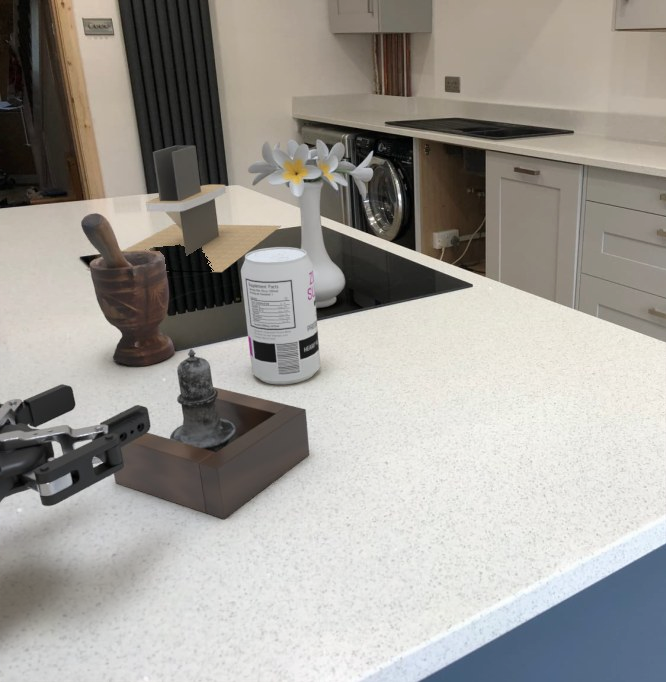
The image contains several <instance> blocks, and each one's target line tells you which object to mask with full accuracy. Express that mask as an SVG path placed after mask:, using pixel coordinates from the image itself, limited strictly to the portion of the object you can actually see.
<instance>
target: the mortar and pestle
mask: <svg viewBox="0 0 666 682" xmlns="http://www.w3.org/2000/svg"><path fill="white" fill-rule="evenodd" d="M80 225H81V230H82V231H83V233H84V234H85V237H86V238H87V240H88V241H89V243H90V244H91V245H92V246H93V248H94V249H95V250H96V251H97V252H98V253H99V254H100V256H99V257H98V258H94V259H93V260H91V261H90V262H89V268H90V270H89V271H90V277H91V280H92V284H93V288H94V294H95V298H96V301H97V303H98V306H99V308H100V311H101V312H102V314H103V315H104V319H105V320H106V321H107V322H108V323H109V324H110V325H111V326H113V327H115V328H116V329H117V330H118V331H119V332H120V333H121V337H120V338H119V341H118V343H117V344H116V347H115V350H114V353H113V355H112V359H113V361H115V362H117V363H119V364H122V365H127V366H130V367H138V366H142V367H143V366H149V365H153V364H156V363H159V362H162V361H164V360H167V359H168V358H170V357H172V356H173V355H174V353H175V346H174V343H173V341H172V339H171V338H170V337H169V336H168V335H166V334H163V333H162V332H160V328H159V326H160V324H161V323H162V322H163V320H164V319H165V318H166V316H167V313H168V309H169V302H170V290H169V288H170V287H169V280H168V277H167V276H168V274H167V272H168V271H166V264H165V257H164V255H163V254H162V253H161V252H160V251H150V250H141V251H138V250H136V251H129V252H126V251H123V250H121V247H120V246H119V242H118V240H117V238H116V234H115V232H114V231H115V230H114V229H113V227H112V225H111V223H110V221H109V220H108V219H107V218H106V217H105V216H104V215H102V214H100V213H97V212H96V213H89V214H87V215H85V216H84V217H83V218H82V219H81V223H80ZM121 251H123V252H121Z"/></svg>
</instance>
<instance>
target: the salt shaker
mask: <svg viewBox="0 0 666 682" xmlns="http://www.w3.org/2000/svg"><path fill="white" fill-rule="evenodd" d="M196 354H197V353H196V352H195V351H194V350H193V349H189V351H188V353H187V355H188V357H187V358H185V359H184V360H183V361H181V362H179V364H178V365H177V370H176V372H177V379H178V385H179V392H180V393H179V394H178V396H177V397H176V401H177V403H178V404H180V405H181V410H182V417H183V421H182V424H181V425H179V426H178V427H176V428H175V429H174V430H173V431H172V432H171V434H170V436H169V439H171V440H175V441H178V442H182V443H185V444H189V445H192V446H196V447H199V448H203V449H206V450H209V451H213V452H215V453H216V452H217V451H219V450H220V449H222V448H224V447H225V446H227V445H228V444H230V443H231V442H232V441H233V436H234V434H235V431H236V430H235V426H234V425H233V423H231V422H229V421H228V420H224V419H220V418H219V416H218V413H217V407H216V400H215V399H216V398H217V396H218V392H217V390H215V389H213V387H214V385H213V377H212V370H211V364H210V362H209V361H208V360H207V359H205V358H202V357H199V356H195V355H196Z"/></svg>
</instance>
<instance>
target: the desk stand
mask: <svg viewBox="0 0 666 682" xmlns="http://www.w3.org/2000/svg"><path fill="white" fill-rule="evenodd" d="M213 389H215V390H217V392H218V396H217V398H216V399H215V400H216V407H217V413H218V416H219V418H220V419H224V420H228V421H229V422H231V423H233V425H234V426H235V430H236V431H235V434H234V436H233V441H232V442H231V443H230V444H228V445H227V446H225V447H224V448H222V449H220V450H219V451H217V452H216V453H215V452H213V451H209V450H206V449H203V448H199V447H196V446H192V445H189V444H185V443H182V442H178V441H175V440H171V439H170V438H168V437H164V436H161V435H157V434H153V433H150V432H147V433H146V434H144V435H142V436H141V437H139V438H137V439H135V440H133V441H132V442H130V443H128V444H126V445H124V446H122V447H121V452H122V457H123V462H124V468H123V469H121V470H119V471H117V472H116V473H114V474H113V477H114V482H115V483H116V484H118V485H121V486H124V487H127V488H130V489H132V490H136V491H139V492H141V493H145V494H147V495H151V496H154V497H157V498H160V499H163V500H166V501H169V502H172V503H173V504H174V503H175V504H177V505H181V506H184V507H186V508H190V509H192V510H195V511H199V512H202V513H205V514H206V515H207V514H208V515H211V516H214V517H217V518H219V519H222V520H225V519H226V518H228V517H229V516H230V515H232V514H233V513H235V511H237V510H238V509H240V508H241V507H242V506H243V505H245V504H246V503H248V502H249V501H250V500H251V499H253V498H254V497H255V496H257V495H258V494H259V493H261V492H263V491H264V490H265V489H266V488H268V487H269V486H270V485H271V484H273V483H274V482H276V481H277V480H278V479H279V478H281V477H282V476H283V475H285V474H286V473H287V472H289V471H290V470H291V469H292V468H294V467H295V466H296V465H298V464H299V463H300V462H302V461H303V460H304V459H306V458H307V457H308V456H309V455H310V446H309V445H310V444H309V432H308V431H309V430H308V420H307V410H306V408H303V407H298V406H294V405H289V404H286V403H282V402H277V401H275V400H270V399H265V398H260V397H257V396H252V395H250V394H249V395H248V394H244V393H240V392H236V391H231V390H228V389H223V388H220V387H219V388H218V387H215V386H213Z"/></svg>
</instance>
